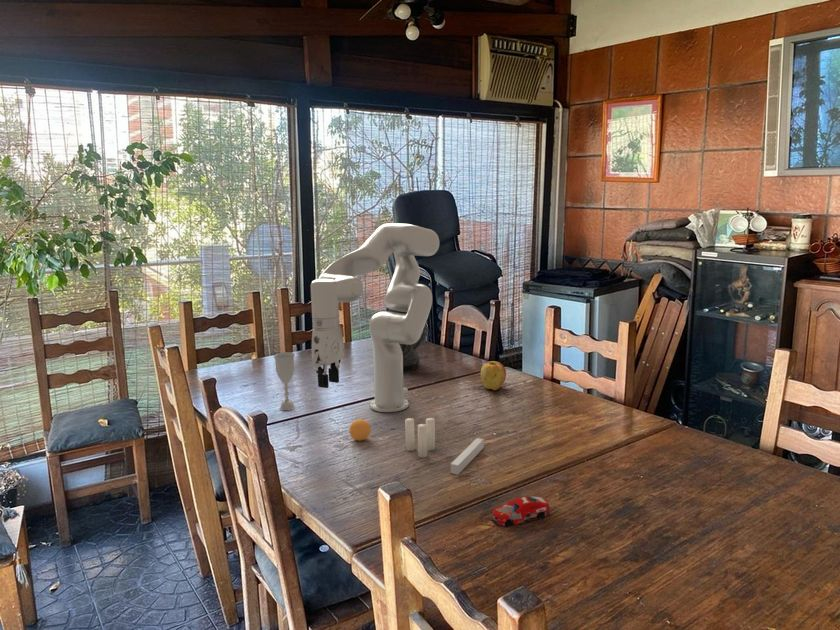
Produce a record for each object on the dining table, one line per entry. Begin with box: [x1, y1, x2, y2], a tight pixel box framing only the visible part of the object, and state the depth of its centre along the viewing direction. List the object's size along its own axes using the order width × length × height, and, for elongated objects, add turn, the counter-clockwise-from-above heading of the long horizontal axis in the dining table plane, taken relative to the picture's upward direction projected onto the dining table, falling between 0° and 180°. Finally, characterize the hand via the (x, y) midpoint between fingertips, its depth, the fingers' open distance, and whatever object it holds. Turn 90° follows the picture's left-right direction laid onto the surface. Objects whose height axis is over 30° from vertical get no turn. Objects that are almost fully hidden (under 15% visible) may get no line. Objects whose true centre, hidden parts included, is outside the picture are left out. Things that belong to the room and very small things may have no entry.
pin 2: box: [425, 417, 436, 451], centre depth 170 cm, size 2×2×8 cm
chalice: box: [273, 351, 296, 411], centre depth 203 cm, size 7×7×18 cm
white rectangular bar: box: [450, 437, 485, 475], centre depth 163 cm, size 18×2×2 cm, turn 154°
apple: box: [480, 360, 507, 391], centre depth 221 cm, size 9×9×10 cm
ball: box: [349, 418, 371, 442], centre depth 177 cm, size 6×6×6 cm
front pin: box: [404, 417, 415, 452], centre depth 170 cm, size 2×2×8 cm
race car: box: [491, 495, 551, 528], centre depth 135 cm, size 13×5×4 cm, turn 110°
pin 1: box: [417, 423, 428, 459], centre depth 166 cm, size 2×2×8 cm
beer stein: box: [388, 309, 429, 372], centre depth 249 cm, size 16×19×25 cm
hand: (328, 384), depth 179 cm, fingers open, 4 cm apart
